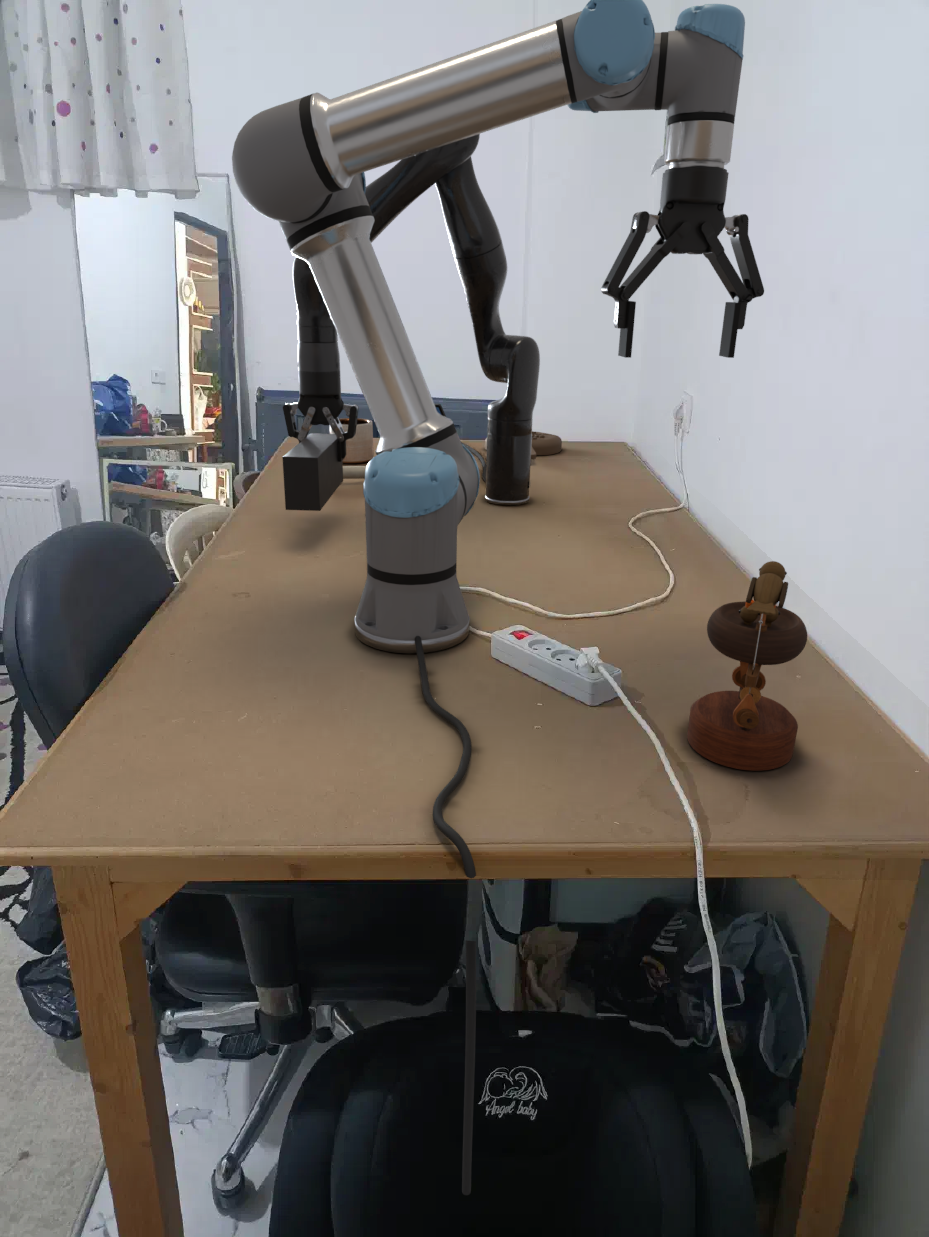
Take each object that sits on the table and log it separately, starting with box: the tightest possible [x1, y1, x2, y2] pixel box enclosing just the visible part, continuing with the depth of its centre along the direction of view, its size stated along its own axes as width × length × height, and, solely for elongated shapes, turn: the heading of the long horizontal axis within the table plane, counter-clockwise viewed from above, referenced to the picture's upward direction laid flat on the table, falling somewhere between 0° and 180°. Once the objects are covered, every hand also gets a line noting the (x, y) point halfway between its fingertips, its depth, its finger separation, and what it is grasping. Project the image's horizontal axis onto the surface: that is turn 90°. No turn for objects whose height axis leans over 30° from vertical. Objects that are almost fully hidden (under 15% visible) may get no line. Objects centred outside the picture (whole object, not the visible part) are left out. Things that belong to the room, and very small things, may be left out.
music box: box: [686, 560, 808, 772], centre depth 84 cm, size 15×11×20 cm
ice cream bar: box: [484, 431, 563, 460], centre depth 224 cm, size 21×28×4 cm
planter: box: [328, 417, 375, 464], centre depth 212 cm, size 11×11×10 cm
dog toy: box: [343, 465, 367, 480], centre depth 190 cm, size 20×6×5 cm, turn 99°
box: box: [281, 432, 344, 512], centre depth 152 cm, size 23×6×9 cm, turn 178°
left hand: (675, 357), depth 107 cm, fingers open, 13 cm apart
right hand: (323, 460), depth 159 cm, fingers closed on box, 6 cm apart
